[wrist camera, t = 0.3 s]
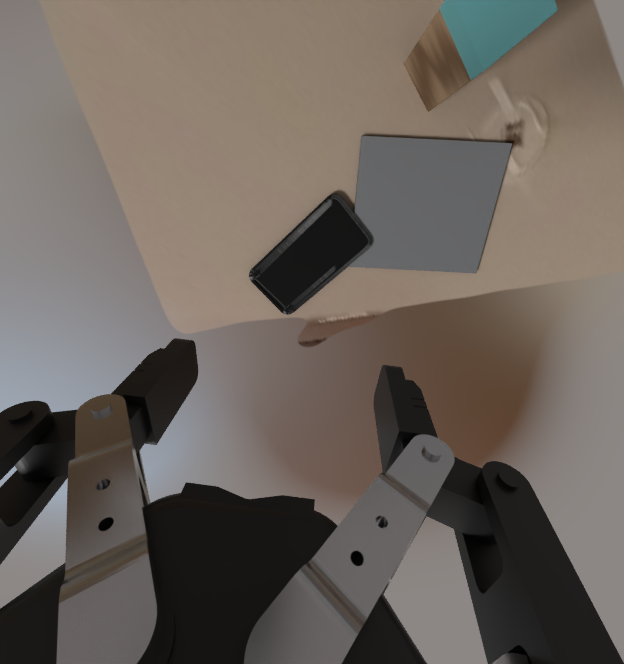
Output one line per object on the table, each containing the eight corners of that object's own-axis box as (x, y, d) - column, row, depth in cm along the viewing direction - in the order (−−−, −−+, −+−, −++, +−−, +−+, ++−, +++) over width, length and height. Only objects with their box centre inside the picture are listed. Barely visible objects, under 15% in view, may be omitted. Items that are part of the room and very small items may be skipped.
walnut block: (403, 63, 30) (450, -9, 19) (450, 22, 29) (528, -81, 18) (428, 111, 32) (484, 70, 21) (473, 74, 30) (558, 10, 19)
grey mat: (361, 136, 33) (362, 135, 32) (509, 143, 33) (512, 143, 32) (348, 265, 39) (349, 266, 38) (474, 272, 39) (476, 273, 38)
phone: (245, 275, 39) (335, 189, 34) (247, 273, 40) (335, 189, 35) (287, 318, 41) (377, 243, 37) (288, 315, 42) (375, 241, 38)
